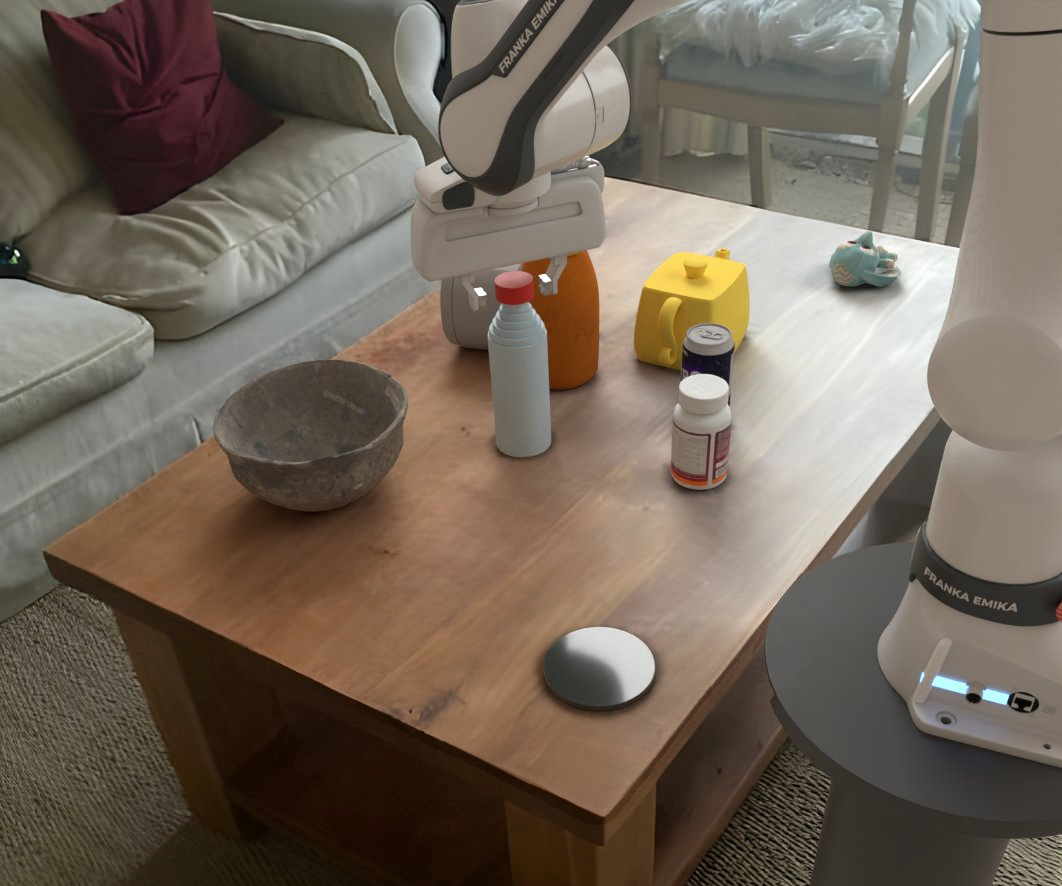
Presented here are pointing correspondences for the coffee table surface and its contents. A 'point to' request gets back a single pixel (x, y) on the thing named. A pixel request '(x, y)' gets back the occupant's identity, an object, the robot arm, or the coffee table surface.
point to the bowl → (313, 432)
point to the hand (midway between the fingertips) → (513, 300)
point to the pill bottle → (701, 432)
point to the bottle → (520, 381)
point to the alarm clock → (470, 309)
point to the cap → (514, 287)
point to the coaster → (599, 668)
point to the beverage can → (708, 352)
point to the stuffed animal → (863, 263)
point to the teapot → (689, 304)
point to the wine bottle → (569, 320)
